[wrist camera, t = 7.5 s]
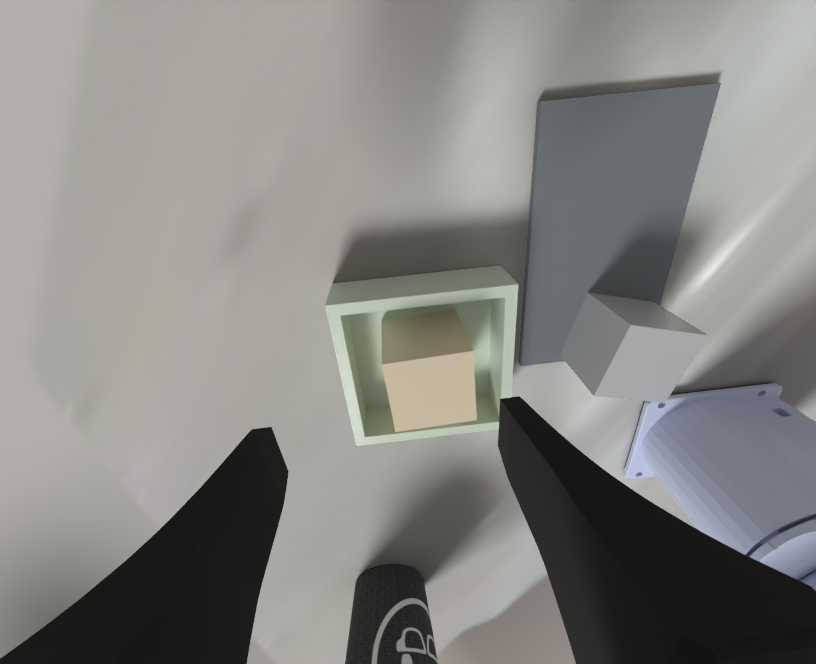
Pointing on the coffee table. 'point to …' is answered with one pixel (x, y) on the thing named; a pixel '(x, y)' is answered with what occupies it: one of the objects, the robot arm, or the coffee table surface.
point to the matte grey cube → (630, 348)
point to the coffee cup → (390, 619)
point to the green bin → (411, 295)
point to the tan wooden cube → (428, 370)
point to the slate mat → (606, 203)
